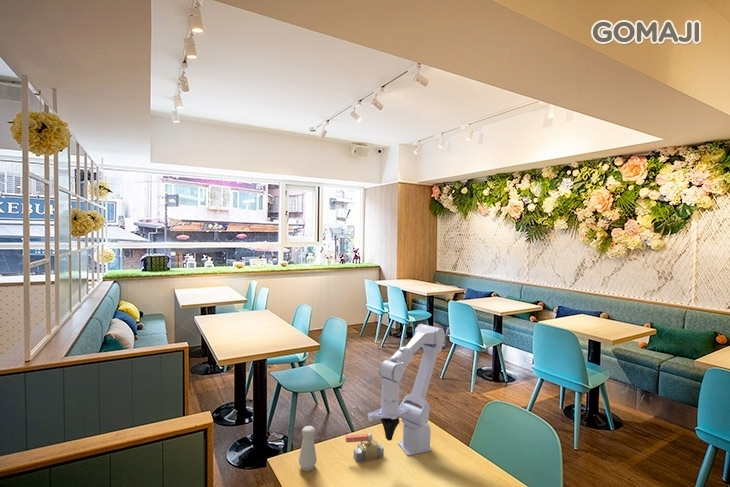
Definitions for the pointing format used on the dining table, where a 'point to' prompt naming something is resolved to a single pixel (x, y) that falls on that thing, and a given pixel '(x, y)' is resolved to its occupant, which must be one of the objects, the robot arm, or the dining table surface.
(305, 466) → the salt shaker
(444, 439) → the dining table surface
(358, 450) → the valve base
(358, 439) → the lever
